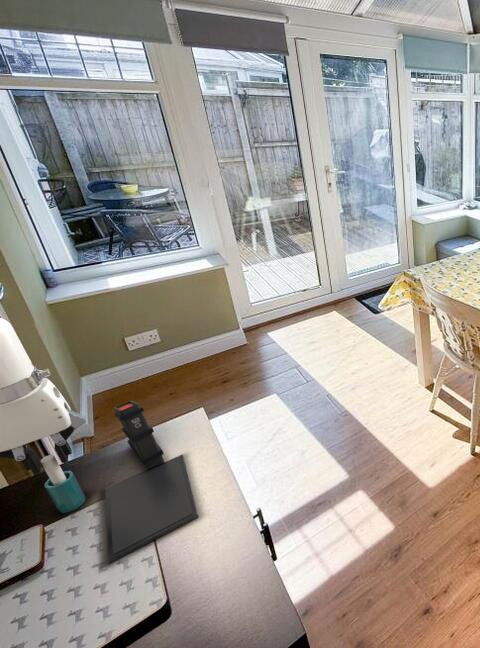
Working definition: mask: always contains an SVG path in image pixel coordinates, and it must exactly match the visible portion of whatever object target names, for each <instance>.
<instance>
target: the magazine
mask: <svg viewBox="0 0 480 648" xmlns="http://www.w3.org/2000/svg"><path fill="white" fill-rule="evenodd" d="M113 409H114V411H115V412H114V413H113V415H114V417H116V418H117V419H118V420H119V422H120V423H121V426H122V428H121V431H122V432H123V433H124V435H125V436H126V437H127V439H128V440H127V441H126V442H127V444H128V445H129V447H130V448H131V450H132V452H133V453H134V454H135V456H136V458H137V459H138V460H139V462H140V463H141V465H142V466H143V467H144V468H145V470H148V469H150V468H153V467H155V466H157V465H159V464H162V463H164V462H165V460H164V457H163V455H164V454H165V453H164V451H163V448H161V447H160V445H159V444H158V443H157V441H156V438H155V436H154V434H153V433H154V432H155V430H154V428H153V427H152V426H151V425H150V424H149V423H148V421H147V419H146V417H145V415H144V413H143V412H144V411H145V409H144V407H143V406H140V404H139V402H136V401H133V400H129V401H127V402H125V403H122V404H119V405H117V406H115V407H113Z"/></svg>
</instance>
